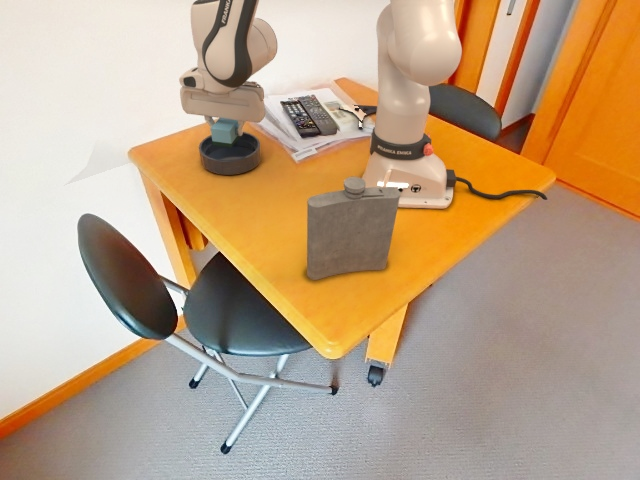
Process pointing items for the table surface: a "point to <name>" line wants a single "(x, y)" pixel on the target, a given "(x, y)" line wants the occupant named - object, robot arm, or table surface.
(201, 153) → the bowl
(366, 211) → the hip flask
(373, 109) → the bracket
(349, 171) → the table surface
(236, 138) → the sponge
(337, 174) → the table surface
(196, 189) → the table surface
